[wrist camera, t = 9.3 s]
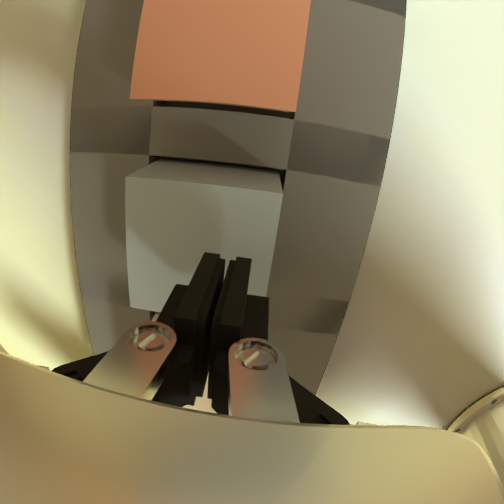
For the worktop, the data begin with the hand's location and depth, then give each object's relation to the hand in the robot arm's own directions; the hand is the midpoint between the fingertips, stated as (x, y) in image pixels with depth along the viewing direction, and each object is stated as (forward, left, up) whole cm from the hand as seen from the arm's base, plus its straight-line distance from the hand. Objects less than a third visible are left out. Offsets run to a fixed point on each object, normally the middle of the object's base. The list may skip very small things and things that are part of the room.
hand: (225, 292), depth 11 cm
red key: (+1, -9, -6) cm, 11 cm away
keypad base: (+1, 0, -8) cm, 8 cm away
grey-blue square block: (+1, 0, -6) cm, 6 cm away
